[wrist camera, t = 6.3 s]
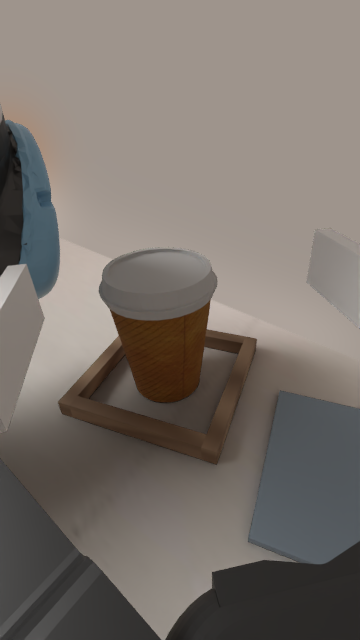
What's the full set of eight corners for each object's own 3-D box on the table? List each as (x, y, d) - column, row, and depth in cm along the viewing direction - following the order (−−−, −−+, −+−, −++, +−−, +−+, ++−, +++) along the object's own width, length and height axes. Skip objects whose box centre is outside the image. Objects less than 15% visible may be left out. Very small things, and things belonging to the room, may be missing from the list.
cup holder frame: (216, 464, 25) (216, 452, 24) (61, 413, 30) (57, 402, 29) (255, 349, 36) (256, 338, 35) (138, 326, 41) (136, 316, 40)
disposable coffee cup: (124, 351, 37) (105, 249, 30) (210, 346, 37) (210, 242, 30) (113, 420, 29) (84, 301, 22) (223, 413, 29) (226, 292, 22)
